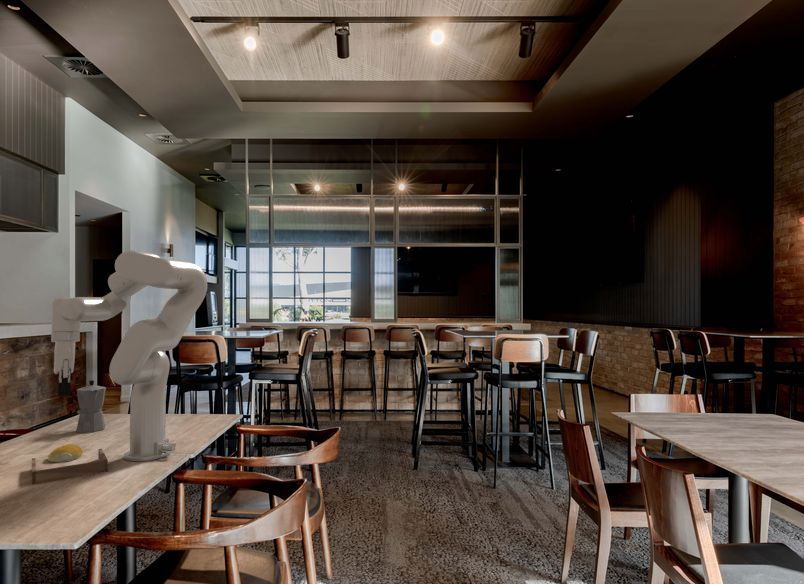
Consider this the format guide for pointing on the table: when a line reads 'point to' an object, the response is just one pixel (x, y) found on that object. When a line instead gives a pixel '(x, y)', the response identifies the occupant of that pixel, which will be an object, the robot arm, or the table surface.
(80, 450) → the bread roll
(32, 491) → the table surface
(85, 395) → the coffeepot
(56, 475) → the walnut open-ended frame
